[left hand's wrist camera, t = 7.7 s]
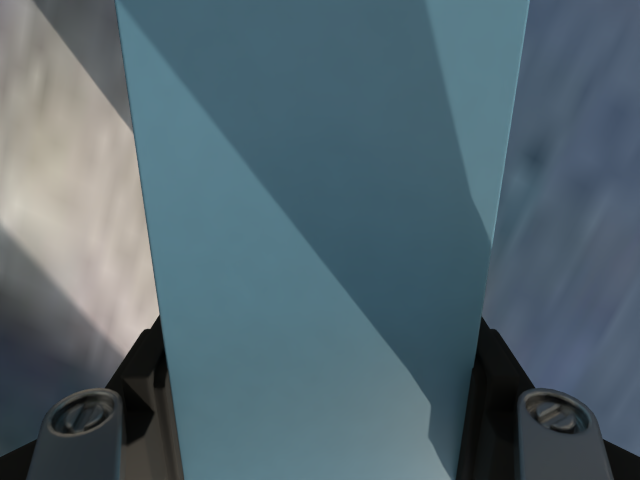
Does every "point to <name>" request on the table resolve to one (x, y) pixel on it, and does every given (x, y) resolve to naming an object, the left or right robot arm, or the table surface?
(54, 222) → the table surface
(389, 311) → the cabinet
